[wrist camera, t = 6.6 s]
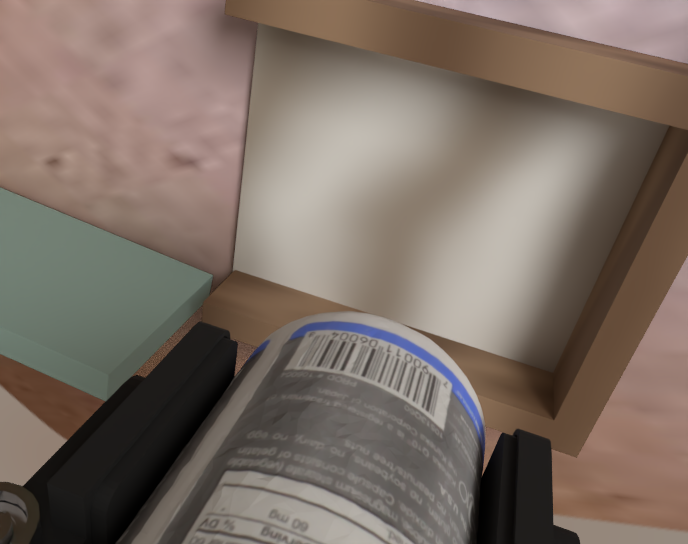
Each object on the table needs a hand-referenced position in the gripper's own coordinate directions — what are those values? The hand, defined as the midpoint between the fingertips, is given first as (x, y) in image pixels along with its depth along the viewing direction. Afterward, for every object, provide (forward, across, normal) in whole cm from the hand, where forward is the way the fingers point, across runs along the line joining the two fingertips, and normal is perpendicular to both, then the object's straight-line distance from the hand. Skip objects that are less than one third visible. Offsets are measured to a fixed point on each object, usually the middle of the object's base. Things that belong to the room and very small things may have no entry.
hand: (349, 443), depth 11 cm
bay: (+12, 0, 0) cm, 12 cm away
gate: (+12, +14, +6) cm, 20 cm away
